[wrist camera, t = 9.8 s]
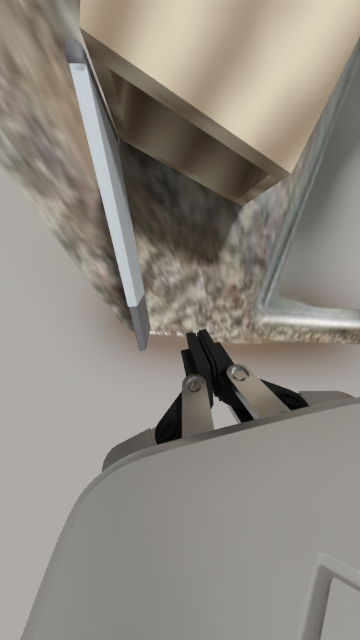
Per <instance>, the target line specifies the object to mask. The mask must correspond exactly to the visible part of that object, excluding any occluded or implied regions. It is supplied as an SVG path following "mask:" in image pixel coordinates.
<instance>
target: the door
mask: <svg viewBox="0 0 360 640" xmlns="http://www.w3.org/2000/svg"><path fill="white" fill-rule="evenodd" d="M65 55H66V58H67V61H68V63H69V65H70V69H71V73H72V77H73V81H74V85H75V89H76V93H77V98H78V102H79V106H80V110H81V114H82V118H83V122H84V126H85V131H86V135H87V139H88V143H89V147H90V151H91V155H92V160H93V164H94V168H95V172H96V176H97V180H98V184H99V188H100V193H101V197H102V201H103V205H104V209H105V213H106V217H107V221H108V226H109V230H110V234H111V238H112V242H113V246H114V250H115V255H116V259H117V263H118V267H119V271H120V275H121V279H122V283H123V288H124V292H125V296H126V300H127V304H128V307H129V309H130V313H131V317H132V321H133V325H134V329H135V334H136V337H137V342H138V346H139V350H140V351H142V350H146V347H147V342H148V336H149V331H150V323H149V318H148V312H147V307H146V301H145V296H144V293H145V292H144V287H143V281H142V275H141V270H140V264H139V259H138V253H137V248H136V242H135V237H134V231H133V226H132V220H131V215H130V209H129V204H128V198H127V192H126V187H125V181H124V176H123V170H122V165H121V159H120V154H119V148H118V137H117V134H116V132H115V129H114V127H113V124H112V121H111V119H110V116H109V114H108V111H107V108H106V106H105V103H104V100H103V98H102V95H101V93H100V90H99V87H98V85H97V82H96V80H95V77H94V74H93V72H92V69H91V66H90V64H89V61H88V59H87V56H86V53H85V51H84V49H83V47H82V45H81V44H80V42H79V41H78V40H76V39H74V38H69V39H68V40H67V41H66V43H65Z"/></svg>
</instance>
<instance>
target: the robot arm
mask: <svg viewBox="0 0 360 640" xmlns="http://www.w3.org/2000/svg"><path fill="white" fill-rule="evenodd" d="M186 336H187V342H188V347H189V349H186V350H182V351H181V354H182V359H183V363H184V368H185V372H186V378H185V379H184V380H183V383H182V392H181V393H180V394H179V396H178V397H177V399H176V400H175V401H174V402H173V404H172V405H171V407H170V408H169V409H168V411H167V412H166V413H165V415H164V416H163V418H162V419H161V420H160V422H159V423H158V425H157V427H155V428H153V429H150V428H149V429H147V430H145V431H143V432H141V433H139V434H138V435H136V436H134V437H132V438H130V439H128V440H126V441H124V442H122V443H120V444H119V445H117V446H115V447H114V448H112V449H111V451H110V452H109V453H108V454H107V456H106V458H105V460H104V463H103V468H102V473H100V474H99V475H98V476H97V477H96V478H95V479H94V480H93V481H92V482H91V483H90V484H89V485H88V486H87V488H85V489H84V491H83V492H82V493H81V495H80V496H79V498H78V499H77V501H76V503H75V504H74V506H73V508H72V510H71V512H70V514H69V516H68V518H67V520H66V522H65V525H64V527H63V529H62V532H61V534H60V536H59V539H58V541H57V544H56V546H55V549H54V551H53V553H52V556H51V559H50V562H49V564H48V567H47V569H46V572H45V574H44V577H43V580H42V582H41V585H40V587H39V590H38V593H37V596H36V598H35V601H34V604H33V607H32V609H31V612H30V615H29V618H28V621H27V623H26V626H25V629H24V631H23V634H22V637H21V640H360V397H357V398H355V397H353V396H351V395H349V394H347V393H344V392H339V391H299V393H295V392H293V391H291V390H289V389H286V388H283V387H281V386H278V385H275V384H273V383H269V382H267V381H264V380H262V379H259V378H258V377H256V376H255V374H254V373H253V372H251V370H250V369H248V368H247V367H245V366H243V365H240V364H234V363H233V362H232V360H231V359H230V357H229V356H228V354H227V353H226V351H225V350H224V348H223V347H222V345H221V344H220V342H217V343H214V342H213V340H212V338H211V337H210V335H209V333H208V332H207V330H206V329H203V330H199V332H198V333H197V336H198V338H197V336H196V333H193V332H190V333H186ZM213 393H214V395H215V397H217V396H218V398H219V401H223V402H224V403H226V404H228V407H229V409H230V411H231V412H232V414H233V416H234V417H235V419H236V421H237V422H238V424H236V425H232V426H228V427H224V428H220V429H216V430H214V426H213V420H212V415H211V408H212V406H213Z"/></svg>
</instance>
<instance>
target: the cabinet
mask: <svg viewBox="0 0 360 640" xmlns="http://www.w3.org/2000/svg"><path fill="white" fill-rule="evenodd" d="M79 28H80V30H81V33H82V36H83V39H84V41H85V44H86V47H87V50H88V52H89V55H90V58H91V60H92V63H93V66H94V69H95V71H96V74H97V77H98V80H99V82H100V85H101V88H102V91H103V93H104V96H105V99H106V101H107V104H108V107H109V110H110V112H111V115H112V118H113V121H114V123H115V126H116V129H117V132H118V134H119V137H120V139H121V140H123V141H124V142H126V143H128V144H130V145H132V146H133V147H135V148H137V149H139V150H141V151H142V152H144V153H146V154H148V155H150V156H151V157H153V158H155V159H157V160H159V161H160V162H162V163H164V164H166V165H168V166H169V167H171V168H173V169H175V170H177V171H178V172H180V173H182V174H184V175H186V176H187V177H189V178H191V179H193V180H195V181H196V182H198V183H200V184H202V185H204V186H205V187H207V188H209V189H211V190H213V191H214V192H216V193H218V194H220V195H222V196H223V197H225V198H227V199H229V200H231V201H232V202H234V203H236V204H238V205H240V206H241V207H242V206H243V205H245V204H246V203H248V202H249V201H251V200H252V199H254V198H255V197H257V196H258V195H260V194H261V193H263V192H264V191H266V190H268V189H269V188H271V187H272V186H274V185H275V184H277V183H278V182H280V181H281V180H283V179H284V178H286V177H287V176H289V175H290V174H291V173H292V171H293V169H294V167H295V165H296V163H297V161H298V159H299V157H300V155H301V153H302V151H303V149H304V147H305V145H306V143H307V141H308V139H309V137H310V135H311V133H312V131H313V129H314V127H315V125H316V123H317V121H318V119H319V117H320V115H321V113H322V111H323V109H324V107H325V105H326V103H327V101H328V99H329V97H330V95H331V93H332V91H333V89H334V87H335V85H336V83H337V81H338V79H339V77H340V75H341V73H342V71H343V69H344V67H345V65H346V63H347V61H348V59H349V57H350V55H351V53H352V51H353V49H354V47H355V45H356V43H357V41H358V39H359V37H360V0H81V4H80V25H79Z"/></svg>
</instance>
